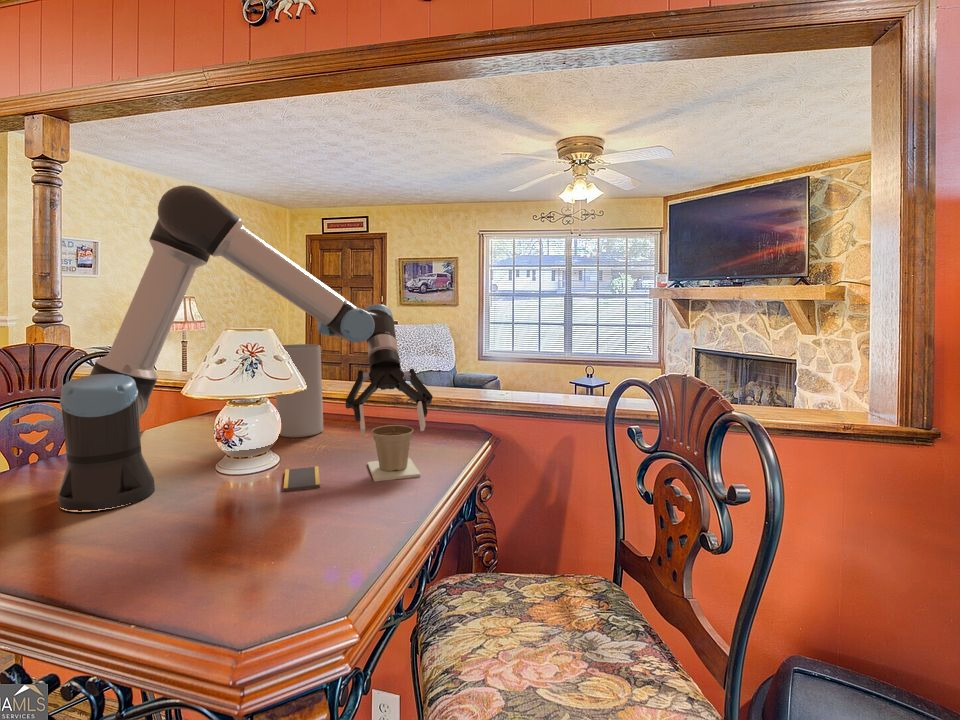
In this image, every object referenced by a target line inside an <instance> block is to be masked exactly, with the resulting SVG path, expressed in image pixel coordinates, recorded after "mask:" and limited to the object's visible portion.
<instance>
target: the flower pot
mask: <svg viewBox="0 0 960 720" xmlns="http://www.w3.org/2000/svg"><path fill="white" fill-rule="evenodd" d="M414 430H415V429H414V428H413V427H412V426H409V425H400V424H393V425H392V424H391V425H382V426H378V427H374V428H372V429H371V432H370V434H372V435H373V437H372V438H373V440H374V441H375V442H374V443H375V448H376V453H377V458H378V459H377V461H379V467H380V468H381V469H382V470H385V471H393V470H402V469H405V468H406V467H407V462H408V458H409V452H410V444H411V439H412V436H413V433H414Z"/></svg>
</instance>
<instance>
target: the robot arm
mask: <svg viewBox="0 0 960 720" xmlns="http://www.w3.org/2000/svg"><path fill="white" fill-rule="evenodd" d="M157 217H158V219H157V221H156V223H155V225H154V228H153V230H152V233H151V234H150V237H149V239H148V241H149V243H150V246H151V247H152V254H151V257H150V258H149V261H148V263H147V266H145V267H146V268H145V270H144V272H143V274H142V277H141V279H140V281H139V284H138V286H137V289H136V290H135V293H134V295H133V296H132V297H133V298H132V300H131V301H130V304H129V306H128V309H127V310H126V313H125V315H124V318H123V320H122V322H121V324H120V327H119V329H118V332H117V334H116V336H115V339H114V340H113V343H112V345H111V347H110V350H109V352H108V354H106V355H104V356H102V357H100V358H97V359H96V360H95V363H94V365H93V367H92V369H91V372H90V374H89V375H85V376H82V377H79V378H78V377H77V378H74V379H71V380H69V381H67V382H65V383H64V384H63V386H61V390H60V399H59V404H60V408H61V413H62V425H63V433H64V434H63V435H64V443H65V455H66V468H65V472H64V475H63V478H62V482H61V485H60V488H59V492H58V495H57V498H58V500H57V501H58V507H59V506H60V507H61V508H64V509H67V510H78V511H82V510H98V509H105V508H112V507H117V506H121V505H126V504H129V503H133V502H136V501H138V502H140V501H139V500H141V499H143V498H145V499H147V498H148V497H147V496H149V495H150V496H151V495H153V493H155V491H154V490H156V489H155V487H156V486H155V478H154V476H153V474H152V471H151V470H150V468H149V465H148V464H147V461H146V460H145V457H144V456H143V453H142V441H141V430H140V429H141V428H140V418H141V417H142V415H143V414H144V413H145V411H146V410H147V408H148V405H149V402H150V401H149V400H150V397H151V394H152V393H153V390H154V387H155V385H156V383H157V380H158V378H159V375H157V372H156V370H155V365H156V363H157V360H158V358H159V355H160V353H161V352H162V350H163V347H164V344H165V342H166V340H167V337H168V336H169V333H170V330H171V328H172V326H173V323H174V321H175V319H176V317H177V315H178V312H179V310H180V307H181V305H182V304H183V303H182V302H183V299H184V298H185V295H186V293H187V291H188V289H189V286H190V284H191V281H192V279H193V277H194V274H195V272H196V270H197V269H198V268H200V267H203V266H206V265H207V264H208V261H209V260H210V258H211V256H212V257H222V258H223V259H225V260H226V261H227V262H230V264H233V265H234V266H235V267H237V268H239V269H240V270H242V271H244V272H245V273H246V274H248V275H249V276H251V277H253V279H255V280H257V281H258V282H260V283H261V284H263V285H264V286H266V287H267V288H269V289H270V290H271V291H274V292H275V293H277V294H278V295H280V296H281V297H282V298H284V299H286V300H287V301H288V302H290V303H292V305H294V306H296V307H298V308H299V309H301V310H302V311H303V312H305V313H307V314H308V315H309V316H311V317H312V318H314V319H315V320H316V330H317V332H318V334H320V335H323V336H328V337H335V338H340V339H343V340H347V341H348V342H351V343H363V342H365V341H366V346H367V353H368V355H367V356H368V365H369V372H364V371H363V370H362V369H361V370H360V369H359V370H358V371H357V379H356V380H355V381H354V383H353V386H352V387H351V389H350V391H349V393H348V395H347V397H346V399H345V408H346V409H348V410H349V409H351V410H353V414H354V420H355V422H359V426H360V428H359V429H360V435H361V436H365V435H366V423H365V413H364V404H365V403H366V402H367V401H368V400H369V399H370V398H371V396H372V395H373V394H374V393H376V392H377V390H378V389H380V390H381V391H383V390H395V388H396V390H398V391H399V392H402V393H403V394H405V395H406V396H407V397H408V398H409V399H411V400H412V401H413V402H414V403H415V404H417V405H416V411H417V416H418V423H419V428H420V429H419V430H420V432H424V431H425V429H426V420H425V419H426V417H427V416H428V406H427V405H431V404H432V401H433V398H434V397H433V394H432V393H431V392H430V391H429V389H428V388H427V387H426V386H425V385H424V384H423V382H422V381H421V379H419V377H418V376H417V375H416V371H415V369H414V368H410V369H409V370H407V371H403V370H402V365H401V359H400V355H399V353H400V352H399V347H398V341H397V336H396V335H397V334H396V329H395V320H394V317H393V312H392V311H391V309H390V308H389V307H388V306H387V305H385V304H380V303H378V304H371V305H369V306H367V307H366V309H363V308H360V307H357V306H356V305H355V304H353V303H352V302H351V301H349V300H348V299H346V298H345V297H344V296H342V295H341V294H339V292H336V291H335V290H333V289H332V288H331V287H329V286H328V285H327V284H325V283H324V282H322V281H321V280H320V279H318V278H317V277H316V276H314V275H313V274H311V273H310V272H308V271H307V270H305V269H304V268H302V267H301V266H300V265H299V264H297V263H295V262H294V261H293V260H292V259H290V258H288V257H287V256H286V255H284V254H283V253H281V252H280V251H279V250H277V249H276V248H274V247H273V246H272V245H270V244H269V243H267V242H266V241H265V240H263V239H262V238H260V237H259V236H258V235H256V234H255V233H253V232H252V231H251V230H250V229H248V228H247V227H245V226H244V223H243V219H242V218H241V217H239V215H237V214H235V213H234V212H233V211H231V210H230V209H229V208H228V207H226V206H225V204H223V203H222V202H220V201H219V200H218V199H216V198H215V196H213V195H212V194H211V193H210V192H208V191H206V190H204V189H203V188H199V187H197V186H193V185H178V186H174V187H172V188H170V189H168V190H167V191H166V192H165V193H164V194H163V195H162V196H161V198H160V200H159V202H158V206H157ZM404 378H405V379H407V381H409V383H410V384H411V385H412V386H413V387H412V386H411V385H410V384H408V383H407V382H406V380H405V379H404ZM367 379H368V380H369V381H370V384H369V385H368V386H367V387H366V388H365V389H364V391H363V392H361V394H359V392H360V390H361V388H362V387H363V386H362V385H363V383H365V382H366V380H367ZM358 394H359V396H358V397H357V395H358ZM150 496H149V497H150ZM146 497H147V498H146ZM143 500H144V499H143ZM141 501H142V500H141ZM136 503H137V502H136ZM133 504H134V503H133Z"/></svg>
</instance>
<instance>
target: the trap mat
mask: <svg viewBox="0 0 960 720" xmlns="http://www.w3.org/2000/svg"><path fill="white" fill-rule="evenodd" d="M284 471H285V472H284V480H283V492H291V491H292V492H293V491H300V490H299V489H301V490H308V489H307V488H310V489H317V487H319V488H321V483H320V471H319V465H317V466H311V467H300V468H285V470H284Z"/></svg>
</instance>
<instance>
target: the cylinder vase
mask: <svg viewBox="0 0 960 720" xmlns="http://www.w3.org/2000/svg"><path fill="white" fill-rule="evenodd" d="M281 345H282V346H283V347H284V349H285V350H286V351H287V352H288V354H289V355H290V357H291V359H292V361H293V363H294V364H295V366H296V367H297V369H298V370H299V372H300V373H301V375H302V376H303V377H304V379H305V382H306V385H307V390H304V391H300V392H296V393H293V394H286V395H279V396H276V395H275V405H276V407H275V409H277V410H278V412H279V414H280V417H281V423H282V430H281V434H280V435H279V436H281V437H284V438H295V439H296V438H307V437H312V436H315V435H318V434H320V433H322V432H323V430H324V415H323V414H324V413H323V411H324V410H323V405H324V404H323V380H322V353H321V351H322V348H321V345H319V344H310V343H309V344H305V343H302V344H300V343H299V344H281Z"/></svg>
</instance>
